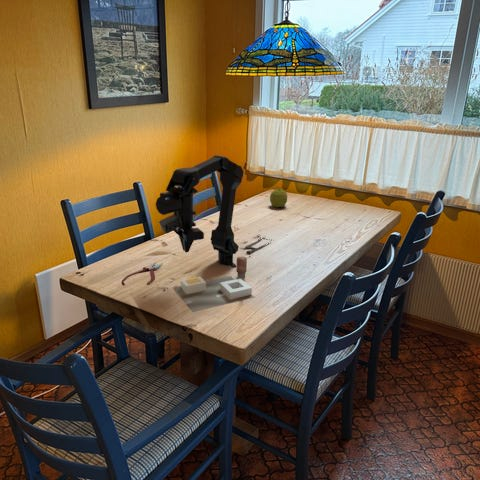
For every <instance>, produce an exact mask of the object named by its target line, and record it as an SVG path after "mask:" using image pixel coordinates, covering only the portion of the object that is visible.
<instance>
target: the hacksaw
mask: <svg viewBox="0 0 480 480" xmlns="http://www.w3.org/2000/svg"><path fill="white" fill-rule="evenodd" d="M258 235H259V234H257V237H258V238H259V237H260V235H259V236H258ZM261 238H262V239H263V240H265V239H266V240H267V241H271V240H270V239H269V238H266V237H260V238H259V239H260V240H259V239H257V241H255V242H252V243H250V244H248V245H246V246H242V248H241V247H240V249H241V250H245V249H249V250H247V251H246V253H245V254H247V255H251V254H253V253H255V252H256V251H257V252H258V250H260V249H262V248H264V247H266V246H268V245H269V244H267V243H264V244H263V245H260V246H259V247H257V248H256V247H253V246H254V245H256V244H258V243H260V242H261V241H263V240H262V239H261ZM268 239H269V240H268ZM266 244H267V245H266ZM250 249H251V250H250Z"/></svg>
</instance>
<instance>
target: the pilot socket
mask: <svg viewBox="0 0 480 480" xmlns="http://www.w3.org/2000/svg"><path fill="white" fill-rule="evenodd" d="M220 290H221V291H222V292H223V293H224V294H225V295H226V296H227V297H228V298H229V299H235V298H239V297H243V296H247V295H253V292H252V291H253V287H252V286H251V285H249V284H248V283H247V282H245V281H244V279H241V278H240V279H238V278H234V280H230V281H225V282H221V283H220Z"/></svg>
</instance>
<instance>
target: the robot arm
mask: <svg viewBox="0 0 480 480" xmlns="http://www.w3.org/2000/svg"><path fill="white" fill-rule="evenodd" d="M216 172H217V173H218V174H219V182H220V184H221V186H222V190H221V198H220V199H221V200H220V205H219V206H220V208H219V214H218V215H219V216H218V222H217V226H216V227H215V229H212V230H211V234H210V235H211V236H210V243H211V245H212V248H213V250H214V251H217V253H218V257H217V258H218V260H217V261H218V262H217V263H218V264H220V265H222V266H226V267H231V268H235V267H236V268H237V264H236V263H234V256H233V255H236V254H237V252H239V249H240V246H239V245H238V244H237V243H236V241H235V234H234V231H233V228H232V222H233V217H234V216H233V215H234V208H235V200H236V193H237V190H238V188H239V186H240V185H241V184H242V182H243V177H244V169H243V168H242V166H241V165H238V164H237V163H235V162H234V161H232V160H230V159H229V158H228V157H226V156H224V155H217V154H216V155H213V156H212V157H210V158H209V159H206V160H204V161H202V162H200V163H197V164H196V165H194V166H190V167H182V168H181V167H180V168H177V169H175V170H174V171H173V173H172V175H171V177H170V179H169V182H168V183H167V186H166V188H165V192H160V194H159V197H158V198H157V199H156V202H155V209H156V210H157V212H158V213H159V214H160V215H161V216H165V215H168V214H171V215H169V216H167V217H165V218H163V219H160V221H158V223H159V225H160V228H161V230H162V231H163V232H164V233H165V234H170V233H171V232H174V233H175V234H176V235H177V236H178V238H179V242H180V245H181V247H182V250H183V251H184V252H185V253H189V251H190V250H191V248H192V245H193V244H194V242H195V241H199V240H205V233H204V231H202V230H201V229H200V228H199V227H196V226H197V224H196V222H194V218H195V217H194V215H196V211H195V210H194V194H197V193H198V192H199V191H198V189H197V188H195V187H196V186H197V185H199V183H200V181H201V180H202V179H204V178H206V177H207V176H209V175H211V174H213V173H216ZM172 213H173V214H172Z"/></svg>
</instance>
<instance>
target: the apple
mask: <svg viewBox="0 0 480 480" xmlns="http://www.w3.org/2000/svg"><path fill="white" fill-rule="evenodd" d="M269 201H270V203H271V206H272V207H274V208H276V207H281V208H284V207H285V206H286V204H287V202H288V193H287V191H285V189H282V188H281V189H280V188H279V189H275V190H273V191H272V192H271V193H270V195H269Z"/></svg>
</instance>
